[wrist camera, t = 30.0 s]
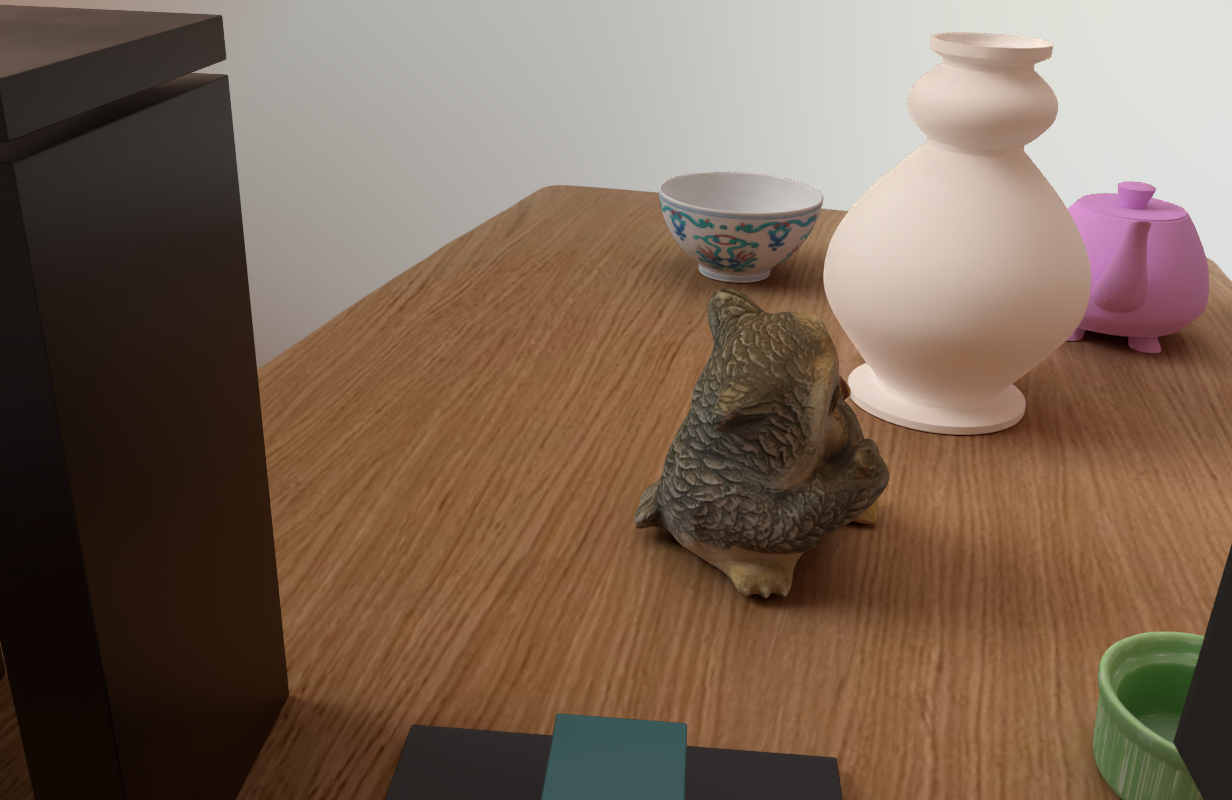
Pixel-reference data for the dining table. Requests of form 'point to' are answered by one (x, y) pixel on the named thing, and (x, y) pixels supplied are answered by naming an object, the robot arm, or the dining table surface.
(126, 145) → the shelf stand
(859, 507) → the figurine
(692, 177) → the chinaware
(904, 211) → the decorative vase
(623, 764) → the teal rectangular block
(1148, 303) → the teapot
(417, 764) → the mat
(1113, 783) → the ramekin
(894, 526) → the dining table surface
